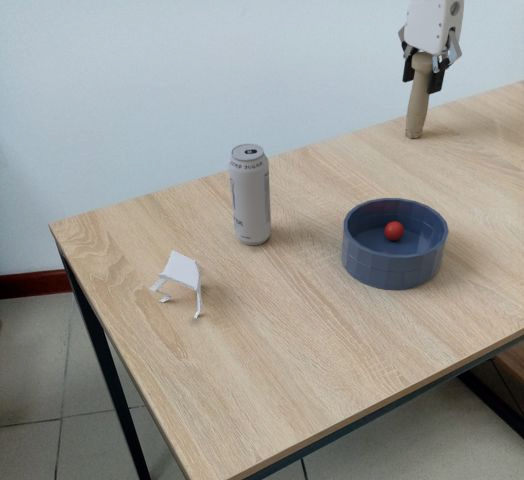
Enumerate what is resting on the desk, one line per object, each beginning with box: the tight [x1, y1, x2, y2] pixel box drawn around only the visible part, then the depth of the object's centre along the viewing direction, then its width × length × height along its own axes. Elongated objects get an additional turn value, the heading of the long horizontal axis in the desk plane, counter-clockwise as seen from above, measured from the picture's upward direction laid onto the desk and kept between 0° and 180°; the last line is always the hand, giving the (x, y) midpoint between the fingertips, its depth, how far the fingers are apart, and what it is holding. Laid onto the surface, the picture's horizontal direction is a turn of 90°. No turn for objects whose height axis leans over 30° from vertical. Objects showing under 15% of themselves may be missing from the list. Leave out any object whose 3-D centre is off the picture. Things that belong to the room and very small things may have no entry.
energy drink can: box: [227, 143, 272, 246], centre depth 83 cm, size 6×6×15 cm
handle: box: [405, 51, 441, 139], centre depth 104 cm, size 5×6×15 cm
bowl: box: [340, 197, 450, 291], centre depth 81 cm, size 15×15×6 cm
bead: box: [385, 222, 404, 241], centre depth 84 cm, size 3×3×3 cm
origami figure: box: [148, 248, 205, 319], centre depth 77 cm, size 12×8×5 cm
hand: (421, 85), depth 102 cm, fingers closed on handle, 6 cm apart
